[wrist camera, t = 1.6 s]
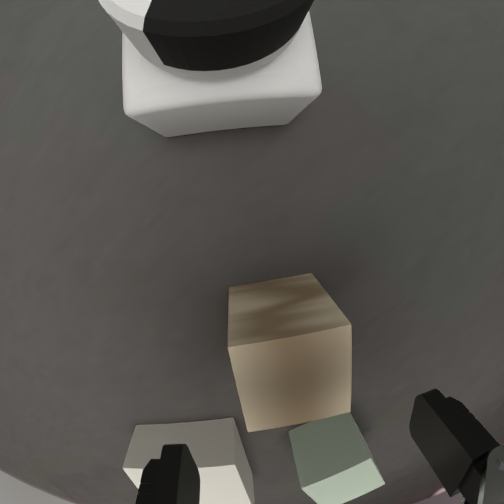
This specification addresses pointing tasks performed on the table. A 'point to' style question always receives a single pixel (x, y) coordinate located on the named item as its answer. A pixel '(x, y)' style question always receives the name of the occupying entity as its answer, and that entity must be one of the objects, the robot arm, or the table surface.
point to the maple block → (289, 352)
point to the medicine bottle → (215, 62)
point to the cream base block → (198, 457)
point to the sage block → (333, 460)
